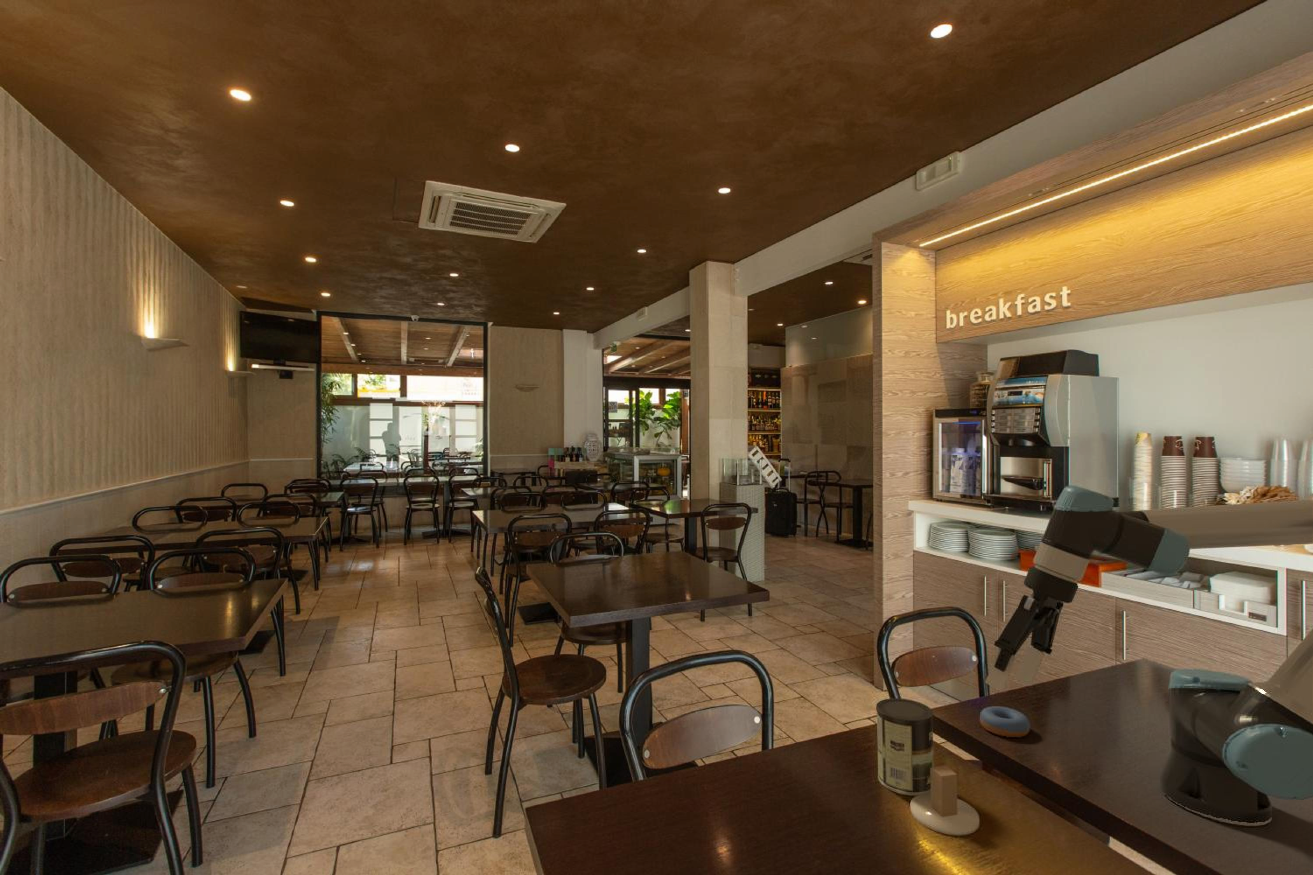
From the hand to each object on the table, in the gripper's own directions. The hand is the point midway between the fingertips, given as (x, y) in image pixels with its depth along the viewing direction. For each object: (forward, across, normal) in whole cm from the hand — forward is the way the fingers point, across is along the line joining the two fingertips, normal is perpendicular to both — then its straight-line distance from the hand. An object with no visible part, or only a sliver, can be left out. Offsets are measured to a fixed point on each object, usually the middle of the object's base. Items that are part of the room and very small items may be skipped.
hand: (1008, 684), depth 110 cm
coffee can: (+27, -1, -10) cm, 29 cm away
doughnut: (+19, -37, -7) cm, 43 cm away
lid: (+26, +4, 0) cm, 26 cm away
